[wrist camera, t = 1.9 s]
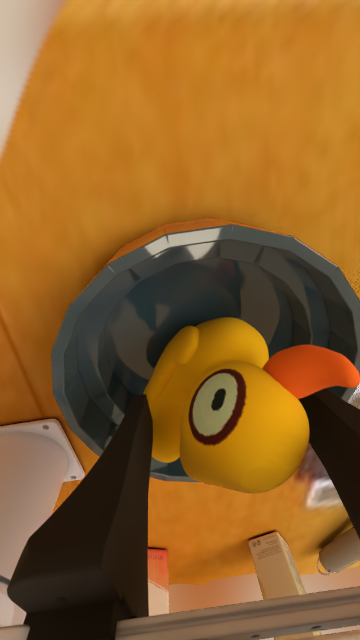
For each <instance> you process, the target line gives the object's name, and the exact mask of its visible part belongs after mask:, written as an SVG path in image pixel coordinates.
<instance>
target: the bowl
mask: <svg viewBox="0 0 360 640" xmlns="http://www.w3.org/2000/svg"><path fill="white" fill-rule="evenodd" d="M222 317H233V318H237V319H240V320H242V321H244V322H246V323H248V324H249V325H251V326H252V327H253V328H255V329H256V330H257V331H258V332H259V333H260V334H261V336H262V337H263V338H264V340H265V343H266V345H267V348H268V355H269V359H270V358H271V357H272V356H273V355H274V354H276V353H277V352H279V351H281V350H284V349H287V348H290V347H294V346H298V345H314V346H319V347H323V348H326V349H329V350H332V351H334V352H337V353H340V354H342V355H344V356H345V357H346V358H347V359H348V360H349V361H350V362H351V363H352V364H353V365H354V366H355V368H356V369H357V370H358V372H359V375H360V300H359V298H358V297H357V295H356V294H355V292H354V290H353V289H352V287H351V286H350V284H349V282H348V281H347V279H346V278H345V276H344V274H343V273H342V271H341V270H340V268H339V267H338V266H337V265H336V264H334V263H333V262H331V261H330V260H328V259H327V258H325V257H324V256H322V255H321V254H319V253H318V252H316V251H315V250H313V249H312V248H310V247H309V246H307V245H306V244H304V243H303V242H301V241H300V240H298V239H297V238H295V237H293V236H290V235H286V234H282V233H278V232H275V231H271V230H267V229H263V228H259V227H255V226H251V225H246V224H241V223H236V222H231V221H226V220H221V219H216V218H204V219H197V220H191V221H184V222H177V223H170V224H165V225H162V226H160V227H158V228H156V229H154V230H153V231H151V232H149V233H147V234H145V235H143V236H141V237H139V238H137V239H135V240H133V241H131V242H129V243H128V244H126V245H124V246H123V247H121V248H120V250H119V251H118V252H117V253H116V254H115V255H114V256H113V257H112V258H111V259H110V260H109V261H108V263H107V264H106V265H105V266H104V267H103V268H102V269H101V270H100V271H99V272H98V273H97V274H96V275H95V277H94V278H93V279H92V280H91V281H90V282H89V283H88V284H87V286H86V287H85V288H84V289H83V290H82V291H81V292H80V293H79V295H78V296H77V297H76V298H75V299H74V300H73V301H72V302H71V304H70V305H69V307H68V308H67V311H66V314H65V316H64V319H63V322H62V324H61V327H60V329H59V332H58V335H57V337H56V340H55V343H54V345H53V348H52V352H51V361H52V380H53V394H54V397H55V399H56V401H57V403H58V405H59V407H60V409H61V411H62V413H63V416H64V418H65V420H66V422H67V424H68V426H69V428H70V429H71V431H72V432H74V433H75V434H76V435H77V436H78V437H79V438H80V439H81V440H82V441H83V442H84V443H85V444H86V445H87V446H88V447H89V448H90V449H91V450H92V451H93V452H94V453H95V454H96V455H98V456H101V455H102V453H103V452H104V450H105V449H106V447H107V445H108V444H109V442H110V440H111V439H112V437H113V436H114V434H115V432H116V430H117V429H118V427H119V425H120V423H121V421H122V419H123V417H124V415H125V413H126V411H127V409H128V407H129V405H130V403H131V401H132V398H133V397H134V396H135V395H141V394H143V393H144V390H145V388H146V386H147V384H148V382H149V380H150V379H151V377H152V374H153V371H154V369H155V367H156V364H157V362H158V360H159V358H160V357H161V355H162V353H163V351H164V349H165V348H166V346H167V345H168V343H169V342H170V341H171V340H172V339H173V337H174V336H175V335H176V334H177V333H178V332H179V331H180V330H181V329H183V328H184V327H186V326H194V327H196V326H197V325H199V324H201V323H203V322H206V321H209V320H213V319H217V318H222ZM357 387H358V386H357ZM357 387H355V388H347V387H342V386H332V387H328V388H326V389H328V390H329V391H331V392H332V393H334V394H335V395H337V396H338V397H340V398H341V399H343V400H344V401H346V402H348V401H349V399H350V398H351V396H352V394H353V393H354V391H355V390H356V388H357ZM308 444H310V443H309V441H308ZM150 477H151V478H155V479H159V480H163V481H165V480H166V481H180V482H199V481H196V480H194V479H192V478H191V477H189V476H188V475H187V473H186V472H185V470H184V468H183V466H182V463H181V459H180V457H179V458H178V459H177V460H175V461H173V462H170V463H165V462H161V461H158V460H156V459H155V458H153V457H151V467H150Z"/></svg>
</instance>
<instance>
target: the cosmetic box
mask: <svg viewBox="0 0 360 640" xmlns="http://www.w3.org/2000/svg"><path fill="white" fill-rule="evenodd" d="M248 543H249V547H250V551H251V554H252V558H253V562H254V566H255V569H256V573H257V577H258V580H259V584H260V588H261V592H262V596H263V599H264V600H267V599H274V598H281V597H288V596H295V595H302V594H306V591H305V589H304V586H303V583H302V580H301V578H300V575H299V572H298V570H297V567H296V564H295V562H294V559H293V556H292V554H291V551H290V548H289V546H288V545H287V543H286V542H285V541H284V539H283V538H282V537H281V535H280V534H279V533H278V532H273V533H270V534H267V535H264V536H261V537H258V538H255V539H252V540H249V541H248ZM318 635H322V633H321V631H314V632H307V633H300V634H293V635H286V636H279V637H274V640H291V639H297V638H304V637H311V636H318Z"/></svg>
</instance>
